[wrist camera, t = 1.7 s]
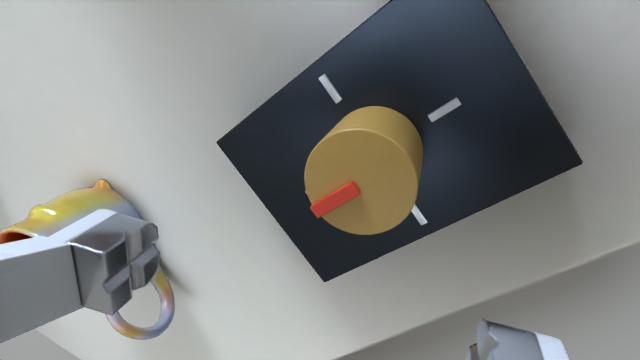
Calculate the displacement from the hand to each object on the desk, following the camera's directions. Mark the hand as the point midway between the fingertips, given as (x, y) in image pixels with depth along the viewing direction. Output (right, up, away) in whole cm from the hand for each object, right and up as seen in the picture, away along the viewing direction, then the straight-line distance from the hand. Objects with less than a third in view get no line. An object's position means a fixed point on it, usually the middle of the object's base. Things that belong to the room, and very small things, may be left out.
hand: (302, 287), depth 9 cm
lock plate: (+4, +5, +11) cm, 13 cm away
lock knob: (+3, +4, +9) cm, 10 cm away
